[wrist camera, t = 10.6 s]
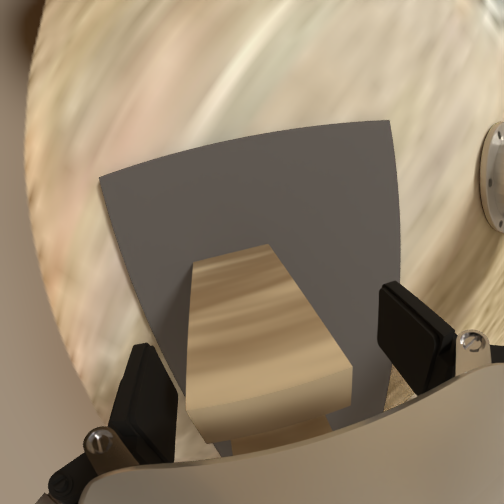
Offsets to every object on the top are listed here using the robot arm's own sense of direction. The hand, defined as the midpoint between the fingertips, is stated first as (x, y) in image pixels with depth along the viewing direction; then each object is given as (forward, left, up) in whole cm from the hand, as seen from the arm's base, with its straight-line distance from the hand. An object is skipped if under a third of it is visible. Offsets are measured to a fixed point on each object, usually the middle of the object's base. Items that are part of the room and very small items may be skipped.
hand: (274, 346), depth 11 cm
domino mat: (-2, +10, -9) cm, 14 cm away
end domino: (+1, 0, -9) cm, 9 cm away
